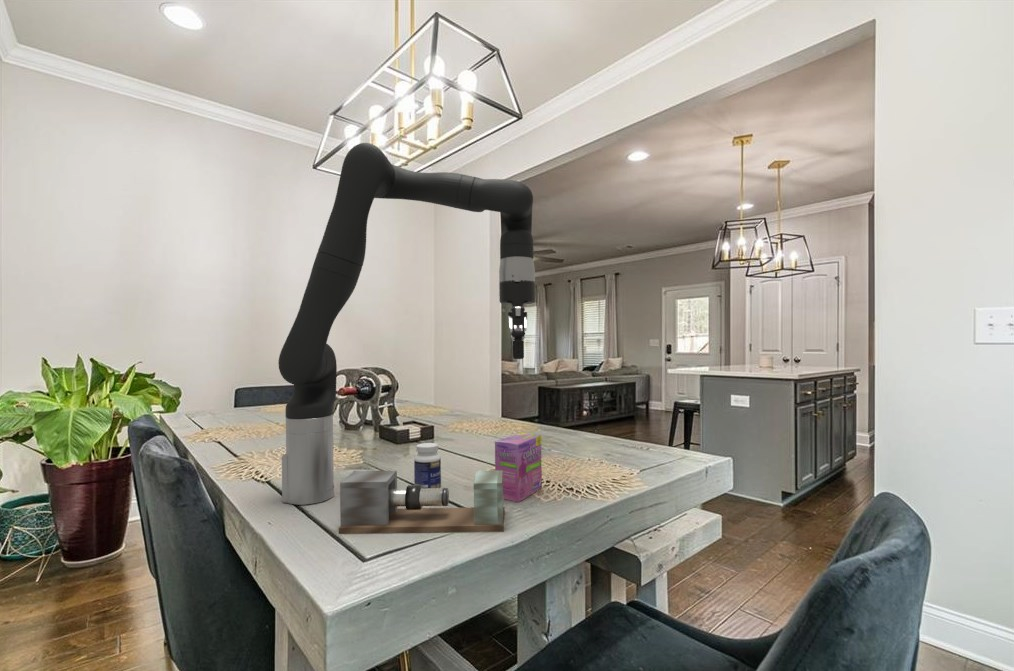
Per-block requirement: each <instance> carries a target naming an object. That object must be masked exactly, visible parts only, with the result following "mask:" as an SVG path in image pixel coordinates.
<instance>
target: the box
mask: <svg viewBox="0 0 1014 671" xmlns="http://www.w3.org/2000/svg"><path fill="white" fill-rule="evenodd" d="M494 461H495V462H494V470H503V501H507V502H512V503H520V502H521V501H523V500H525V499H526V498H528V497H529V496H531V495H533V494H535V493H536V492H539V490H541V489H543V480H542V479H543V478H542V477H543V476H542V471H543V470H542V469H543V468H542V466H543V465H542V434H537V433H536V434H535V433H528V432H518V433H515V434H513V435H509V436H508V437H505V438H502V439H499V440H496V441H494Z"/></svg>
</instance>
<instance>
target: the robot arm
mask: <svg viewBox="0 0 1014 671" xmlns="http://www.w3.org/2000/svg"><path fill="white" fill-rule="evenodd" d="M340 170H341V171H340V177H339V180H338V186H337V190H336V193H335V194H336V195H335V199H334V202H333V206H332V210H331V212H330V215H329V217H328V218H329V219H328V220H327V223H326V227H325V230H324V234H323V236H322V238H321V241H320V244H319V247H318V249H317V252H316V256H315V258H314V262H313V265H312V268H311V272H310V275H309V278H308V282H307V284H306V288H305V290H304V293H303V296H302V300H301V303H300V306H299V309H298V312H297V315H296V317H295V320H294V321H293V324H292V325H291V326H292V327H291V328H290V331H289V333H288V335H287V337H286V340H284V341H285V342H284V344H283V345H282V348H281V350H280V353H279V357H278V362H277V363H278V364H277V365H278V370H279V373H280V376H281V377H282V378H283V380H284V381H286V382H287V383H289V384H292V385H293V392H292V394H291V397H290V399H289V400H288V402H287V403H286V405H285V454H283V455H282V456H281V493H282V494H281V503H287V504H291V505H300V506H301V505H311V504H317V503H321V502H325V501H328V500H330V499H331V498H333V496H334V495H335V481H334V480H335V476H334V475H335V474H334V472H335V471H334V468H335V466H334V415H333V414H334V404H335V401H336V398H337V376H338V375H337V373H338V370H337V367H338V366H337V359H336V354H335V352H334V350H333V348H332V347H331V345H329V344H328V343H327V342H328V340H329V339H328V338H329V336H330V332H331V329H332V327H333V324H334V322H335V320H336V318H337V316H338V315H339V313H340V312H341V311H342V310H343V307H345V305H346V303H347V302H348V301H349V299H350V297H351V296H352V294H353V292H354V290H355V288H356V286H357V284H358V281H359V277H360V276H361V272H362V269H363V265H364V262H365V258H366V257H365V256H366V250H367V249H366V248H367V230H368V229H367V226H368V218H369V215H370V211H371V207H372V206H373V202H374V199H383V200H384V199H387V200H389V199H390V200H392V199H393V200H406V201H416V202H423V203H424V202H425V203H429V204H436V205H440V206H445V207H448V208H454V209H459V210H463V211H468V212H473V213H483V212H485V211H491V212H496V213H500V229H501V230H500V231H501V235H500V242H499V245H500V246H499V259H500V261H499V269H498V270H499V271H498V275H499V277H498V279H499V280H498V282H499V284H498V286H499V287H498V288H499V294H498V296H499V303H500V304H502V305H509V306H511V308H510V311H511V312H510V311H509V312H507V316H508V317H507V321H508V323H509V333H511V334H510V335H511V336H510V337H511V341H512V358H513V359H514V360H523V359H524V358H525V349H524V348H525V341H524V340H525V339H526V331H527V321H528V312H527V311H526V308H525V306H524V305H531V304H532V305H533V304H535V302H536V270H535V264H534V263H535V261H534V239H533V235H532V228H533V227H532V226H533V225H532V224H533V222H532V221H533V204H534V195H533V191H532V190H531V189H530V187H529V186H527V185H526V184H525V183H523V182H520V181H517V180H515V179H514V180H512V179H504V178H503V179H499V178H498V179H497V178H489V179H488V178H482V177H481V178H480V177H476V176H472V175H468V174H462V173H458V172H457V173H456V172H448V171H447V172H441V171H439V172H420V171H414V170H410V169H405V168H403V167H401V166H398V165H395V164H392V163H391V162H390V160H389V159H388V157H387V156H386V154H385V153H384V152H383V151H382V150H381V149H380V148H379V147H378V146H377V145H376V144H373V143H370V142H361V143H358V144H356V145H354V146H353V147H352V148H351V149H350V150H349V151H348V152H347V153H346V156H345V157H344V160H343V163H342V166H341V169H340Z"/></svg>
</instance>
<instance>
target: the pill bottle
mask: <svg viewBox="0 0 1014 671" xmlns="http://www.w3.org/2000/svg"><path fill="white" fill-rule="evenodd" d="M438 451H439V444H438V443H434V442H426V443H425V442H424V443H419V444H417V445H416V452H417V454H416V455H415V456H414V463H413V464H414V474H413V475H414V476H413V477H414V479H413V480H414V481H413V483H414V484H413V485H422V486H423V488H442V474H441V469H442V468H441V464H442V463H441V455H440V454H439V453H438Z"/></svg>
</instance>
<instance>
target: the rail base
mask: <svg viewBox="0 0 1014 671" xmlns="http://www.w3.org/2000/svg"><path fill="white" fill-rule="evenodd" d="M388 489H398V471H397V470H393V469H392V470H354V471H352V472H351V473H350V474H349V475H348V476H346V477H344V479H343V480H341V481H340V482H339V491H340V492H339V497H340V498H339V502H340V504H339V507H340V526H339V527H338V535H348V534H350V535H353V534H357V535H358V534H417V533H418V534H421V533H430V534H431V533H432V534H433V533H481V532H482V533H483V532H485V533H486V532H487V533H489V532H491V533H493V532H496V533H497V532H498V533H499V532H504V531H505V513H506V511H505V508H506V507H505V506H504V500H503V470H495V469H494V470H476V474H475V477H474V481H473V507H472V506H471V507H470V506H469V507H422V509H421V510H406V507H404V508H398V507H389V496H388Z"/></svg>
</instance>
